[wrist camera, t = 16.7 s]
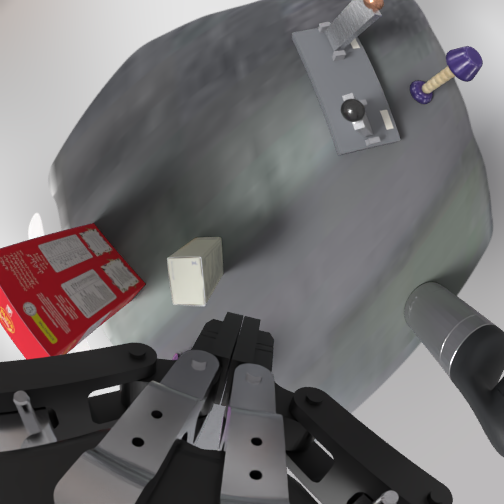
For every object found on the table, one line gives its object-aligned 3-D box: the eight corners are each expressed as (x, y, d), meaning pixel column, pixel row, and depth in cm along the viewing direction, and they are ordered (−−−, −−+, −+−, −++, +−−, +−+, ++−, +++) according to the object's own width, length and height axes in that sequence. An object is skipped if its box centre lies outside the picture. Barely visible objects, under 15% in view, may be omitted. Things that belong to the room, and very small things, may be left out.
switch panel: (338, 155, 39) (343, 152, 35) (291, 38, 35) (292, 26, 31) (396, 142, 37) (406, 138, 34) (348, 29, 34) (353, 17, 30)
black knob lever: (361, 138, 36) (345, 130, 25) (352, 113, 36) (332, 94, 25) (378, 134, 35) (369, 123, 24) (369, 108, 34) (355, 87, 23)
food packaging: (80, 242, 46) (-24, 281, 22) (93, 222, 45) (-18, 254, 21) (129, 301, 48) (40, 376, 24) (145, 284, 47) (51, 357, 22)
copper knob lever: (329, 52, 33) (378, 6, 20) (319, 32, 32) (363, -16, 19) (343, 52, 33) (393, 9, 20) (333, 33, 33) (378, -13, 20)
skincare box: (195, 237, 44) (165, 254, 32) (223, 236, 44) (201, 254, 32) (197, 276, 45) (170, 305, 34) (225, 276, 45) (205, 307, 33)
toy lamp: (406, 77, 35) (454, 37, 18) (428, 79, 34) (480, 44, 18) (413, 103, 36) (468, 71, 19) (435, 104, 35) (493, 77, 19)
